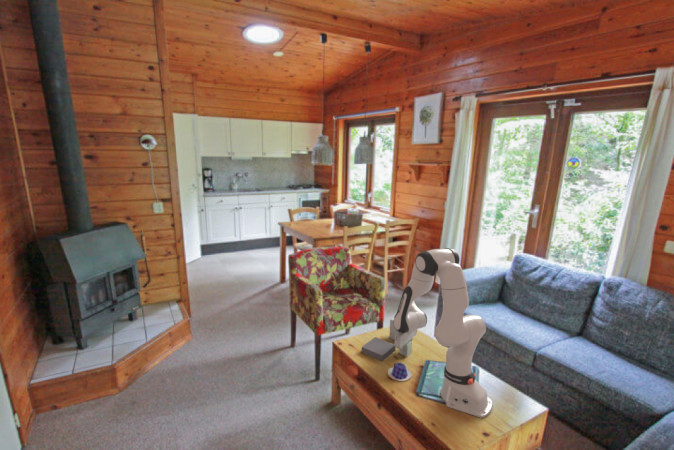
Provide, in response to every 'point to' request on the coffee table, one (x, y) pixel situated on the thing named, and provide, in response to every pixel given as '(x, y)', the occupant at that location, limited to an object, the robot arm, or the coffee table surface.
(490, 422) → the coffee table surface
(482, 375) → the coffee table surface
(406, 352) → the sage block
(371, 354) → the base block
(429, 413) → the coffee table surface
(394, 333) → the supplement box
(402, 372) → the pudding
